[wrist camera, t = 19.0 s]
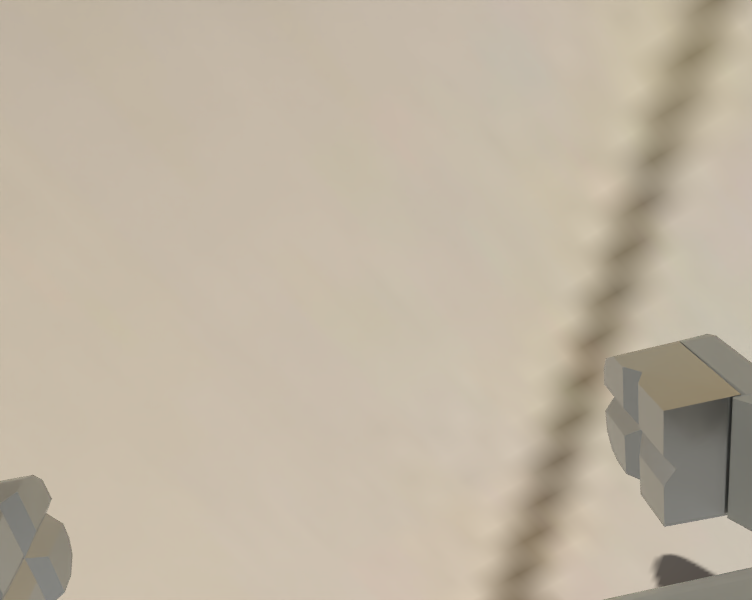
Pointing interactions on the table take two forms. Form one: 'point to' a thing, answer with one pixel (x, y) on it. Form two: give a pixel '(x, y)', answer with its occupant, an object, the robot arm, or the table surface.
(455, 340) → the table surface
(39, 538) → the robot arm
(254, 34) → the table surface
